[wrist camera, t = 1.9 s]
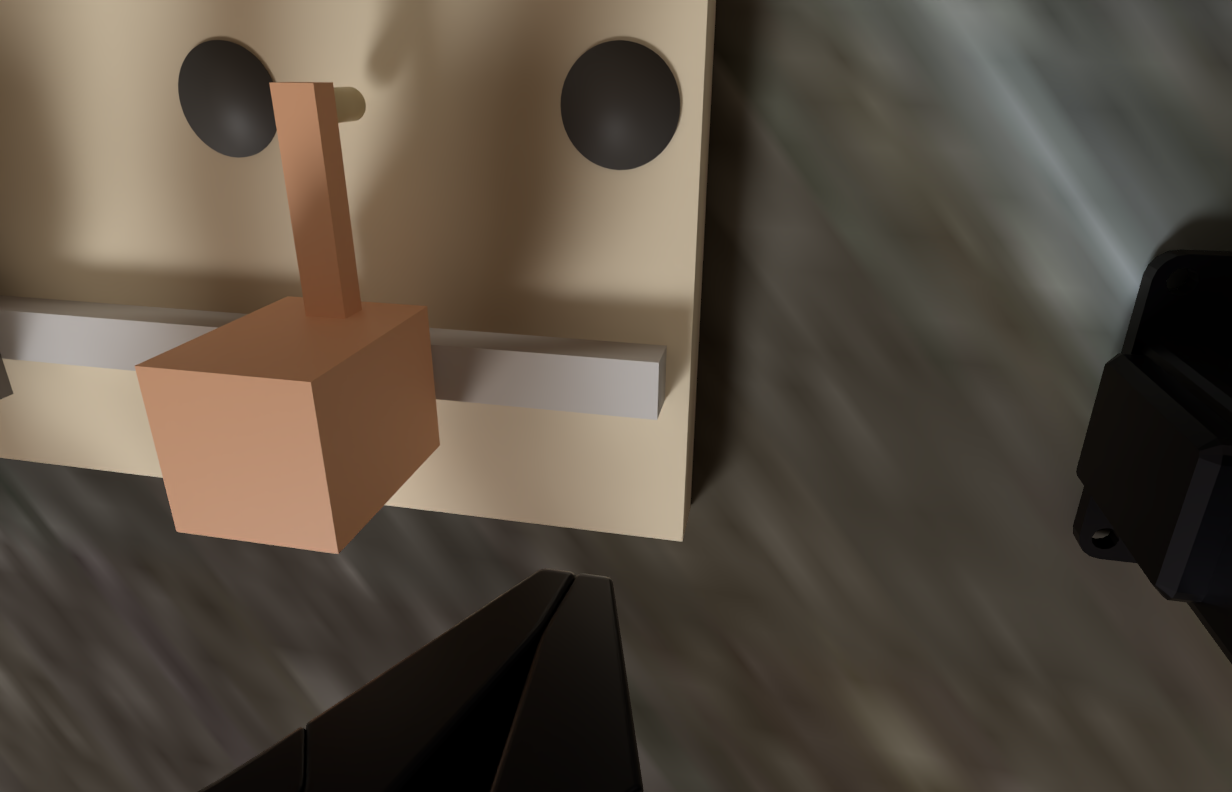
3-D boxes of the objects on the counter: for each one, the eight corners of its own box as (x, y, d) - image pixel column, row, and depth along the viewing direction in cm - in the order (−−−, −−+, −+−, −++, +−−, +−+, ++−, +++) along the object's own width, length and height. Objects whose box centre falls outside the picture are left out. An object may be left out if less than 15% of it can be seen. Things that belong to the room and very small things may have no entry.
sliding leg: (423, 81, 14) (263, 88, 10) (453, 431, 17) (338, 553, 13) (275, 79, 15) (62, 86, 10) (327, 417, 17) (176, 532, 13)
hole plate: (716, -6, 14) (662, -53, 9) (690, 507, 19) (642, 708, 13) (-106, 3, 18) (-541, -27, 12) (31, 431, 22) (-240, 562, 16)
